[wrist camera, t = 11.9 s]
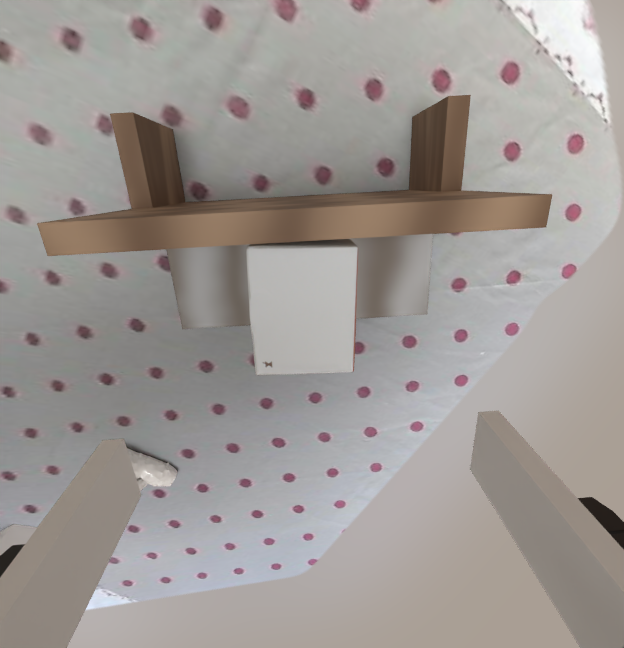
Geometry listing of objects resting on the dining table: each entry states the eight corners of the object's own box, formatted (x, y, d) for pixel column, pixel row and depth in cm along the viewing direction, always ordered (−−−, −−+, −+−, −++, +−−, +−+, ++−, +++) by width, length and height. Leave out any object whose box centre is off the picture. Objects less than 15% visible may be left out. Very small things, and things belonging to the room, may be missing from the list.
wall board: (191, 318, 37) (104, 428, 21) (155, 130, 31) (-15, 67, 14) (417, 304, 38) (513, 401, 21) (429, 116, 31) (581, 37, 14)
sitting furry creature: (127, 504, 47) (73, 605, 35) (76, 462, 44) (1, 557, 33) (182, 471, 45) (144, 566, 34) (133, 425, 42) (74, 512, 31)
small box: (334, 307, 34) (355, 375, 22) (269, 309, 34) (253, 378, 22) (336, 221, 31) (360, 244, 19) (264, 222, 31) (242, 246, 19)
